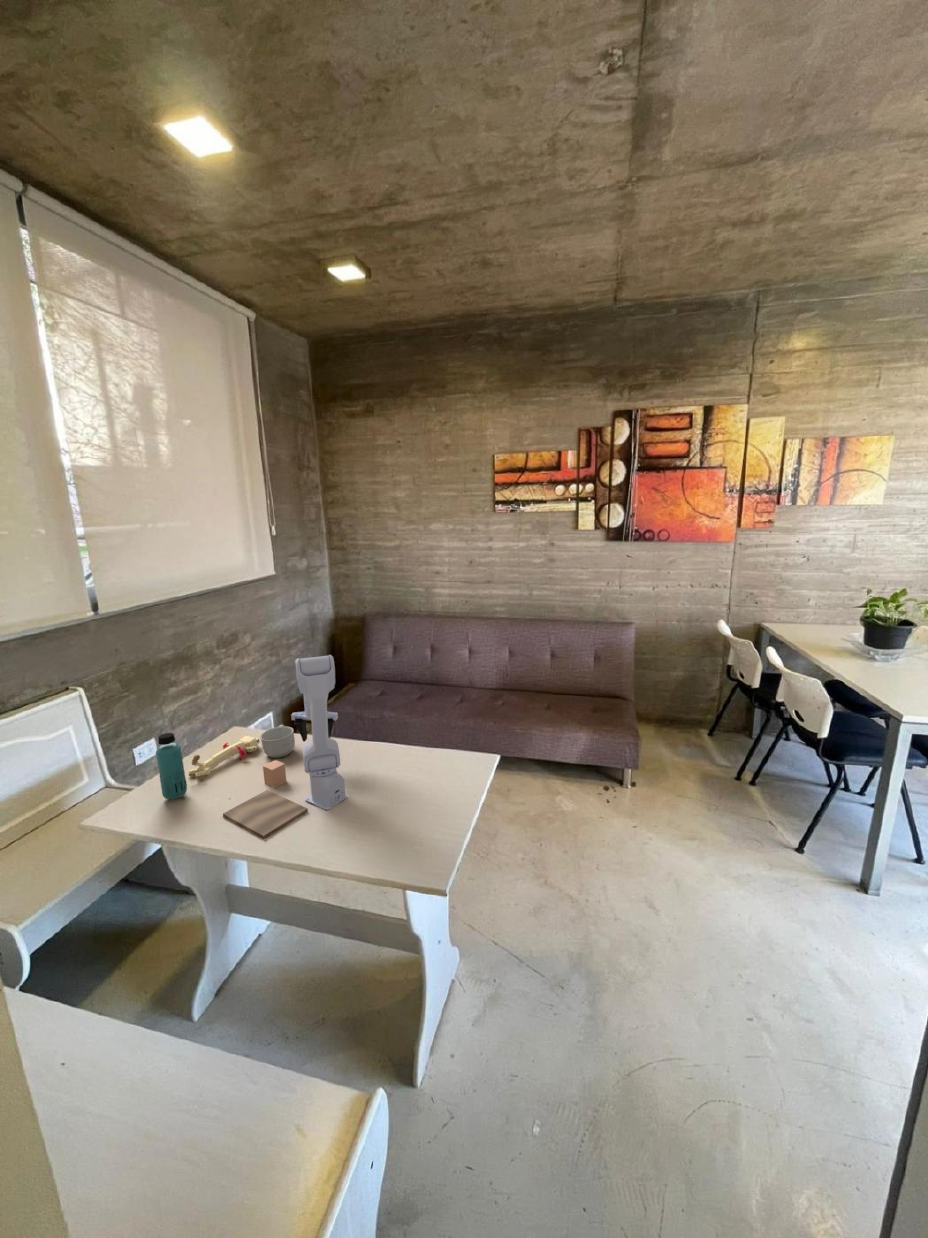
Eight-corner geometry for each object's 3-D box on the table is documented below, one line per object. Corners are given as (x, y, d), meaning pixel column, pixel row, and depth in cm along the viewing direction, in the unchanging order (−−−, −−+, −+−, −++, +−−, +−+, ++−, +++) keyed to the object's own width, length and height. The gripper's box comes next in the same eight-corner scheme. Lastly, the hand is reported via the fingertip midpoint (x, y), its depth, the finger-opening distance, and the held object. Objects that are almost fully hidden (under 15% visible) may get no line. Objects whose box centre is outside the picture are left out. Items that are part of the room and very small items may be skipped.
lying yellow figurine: (207, 786, 152) (268, 746, 174) (201, 762, 150) (264, 724, 172) (185, 779, 157) (248, 741, 178) (180, 755, 154) (244, 719, 176)
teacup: (288, 761, 165) (286, 739, 163) (257, 761, 165) (254, 739, 163) (303, 742, 178) (301, 722, 177) (273, 742, 179) (271, 722, 177)
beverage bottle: (176, 805, 140) (167, 740, 136) (157, 802, 142) (147, 738, 137) (193, 792, 146) (184, 730, 142) (174, 790, 148) (165, 729, 144)
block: (286, 781, 152) (284, 763, 151) (273, 788, 149) (272, 770, 147) (277, 777, 155) (275, 760, 153) (264, 783, 151) (262, 766, 150)
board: (307, 811, 136) (307, 808, 136) (263, 839, 125) (263, 835, 125) (267, 792, 146) (267, 789, 146) (223, 817, 134) (222, 813, 134)
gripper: (339, 696, 160) (342, 734, 163) (295, 696, 160) (299, 734, 163) (333, 704, 153) (335, 744, 156) (287, 704, 153) (291, 744, 156)
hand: (316, 740), depth 159 cm, fingers open, 7 cm apart
